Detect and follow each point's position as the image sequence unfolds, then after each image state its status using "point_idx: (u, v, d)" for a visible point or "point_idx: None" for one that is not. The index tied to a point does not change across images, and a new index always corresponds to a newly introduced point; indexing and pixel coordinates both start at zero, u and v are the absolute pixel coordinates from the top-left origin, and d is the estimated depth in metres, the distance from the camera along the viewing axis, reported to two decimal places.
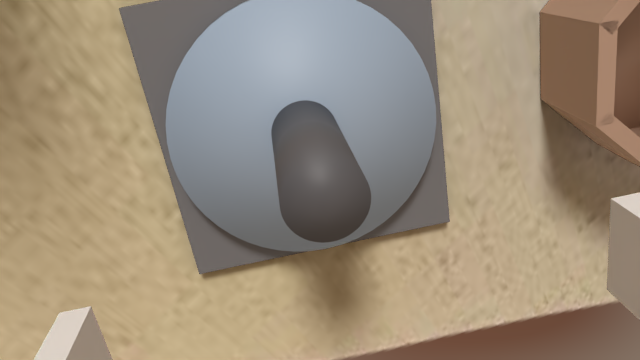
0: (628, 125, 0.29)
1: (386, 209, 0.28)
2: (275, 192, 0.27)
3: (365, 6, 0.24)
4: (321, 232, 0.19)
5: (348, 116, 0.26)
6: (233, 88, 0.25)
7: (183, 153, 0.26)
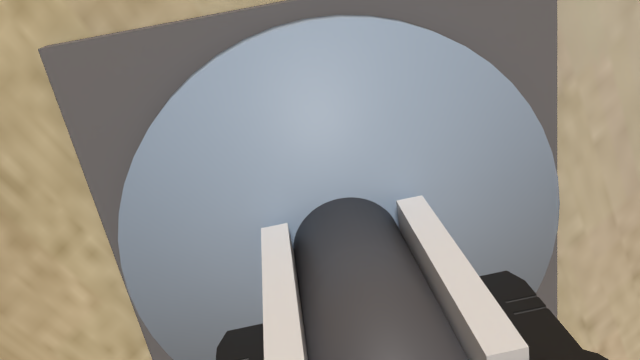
0: None
1: None
2: None
3: (456, 45, 0.14)
4: None
5: None
6: (230, 181, 0.15)
7: (149, 282, 0.16)
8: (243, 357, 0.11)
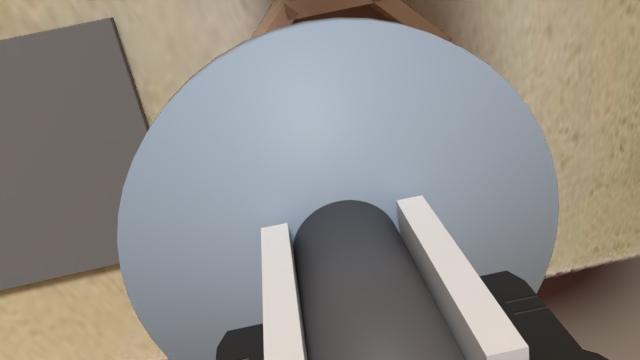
0: None
1: None
2: None
3: (456, 48, 0.14)
4: None
5: None
6: (230, 183, 0.15)
7: (148, 285, 0.16)
8: (243, 357, 0.11)
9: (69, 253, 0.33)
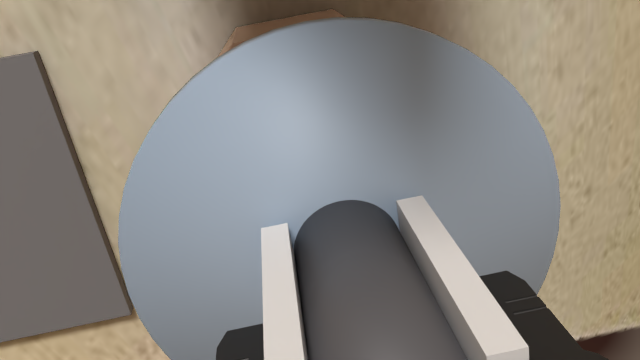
0: None
1: None
2: None
3: (457, 47, 0.14)
4: None
5: None
6: (231, 183, 0.15)
7: (149, 285, 0.16)
8: (243, 357, 0.11)
9: None
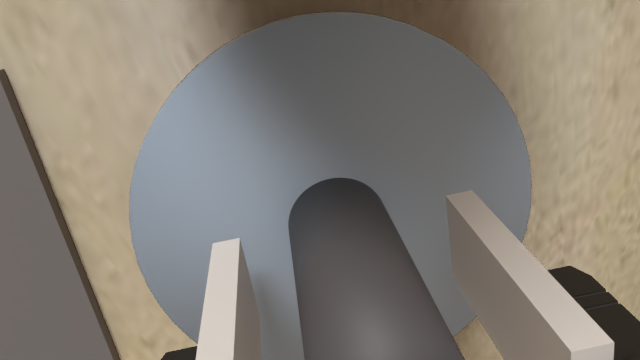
0: None
1: (451, 324, 0.20)
2: (293, 305, 0.19)
3: (435, 38, 0.16)
4: None
5: (403, 199, 0.18)
6: (231, 162, 0.16)
7: (157, 255, 0.17)
8: None
9: None
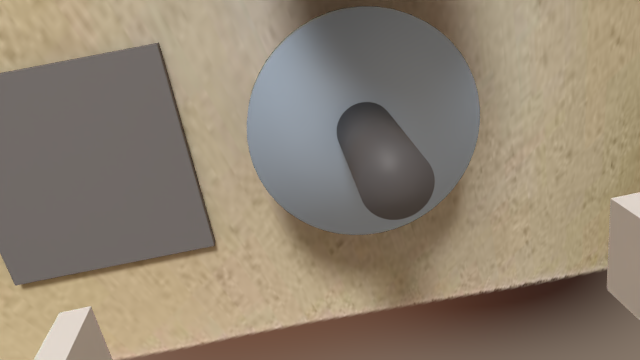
0: None
1: (433, 198, 0.32)
2: (337, 182, 0.31)
3: (421, 21, 0.28)
4: (392, 211, 0.23)
5: (403, 115, 0.30)
6: (305, 91, 0.29)
7: (260, 147, 0.30)
8: None
9: (113, 247, 0.37)
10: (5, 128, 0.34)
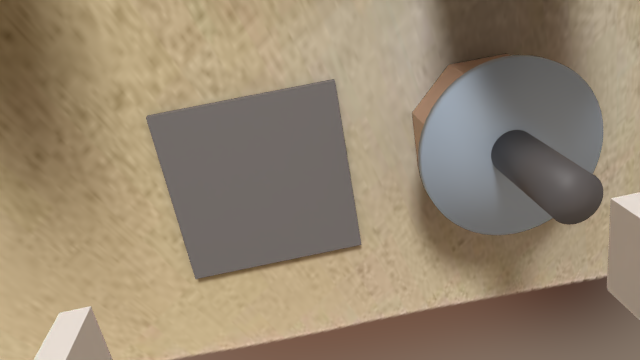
0: None
1: None
2: (487, 193, 0.39)
3: (565, 67, 0.36)
4: (569, 217, 0.31)
5: (544, 140, 0.38)
6: (471, 122, 0.37)
7: (431, 166, 0.38)
8: None
9: (279, 246, 0.45)
10: (205, 148, 0.41)
